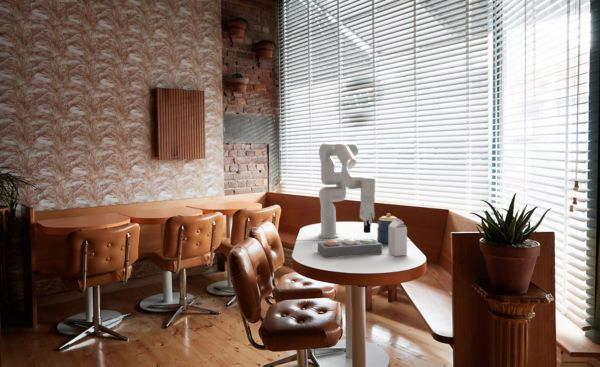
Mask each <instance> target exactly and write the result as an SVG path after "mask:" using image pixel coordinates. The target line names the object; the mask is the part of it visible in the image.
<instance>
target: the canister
mask: <svg viewBox="0 0 600 367" xmlns="http://www.w3.org/2000/svg"><path fill="white" fill-rule="evenodd" d="M394 218H397V217H396V216H394V215H391V213H388V212H387V213H386V215H382V216H381V217H379V218H378V221H377V223H376V224H377V228H376V230H377V236H376V237H377V238H376V241H377V242H379V243H381V244H382V245H387V246H388V230H389V225H390V224H391V223H392V222H393V221H394Z"/></svg>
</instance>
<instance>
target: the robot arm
mask: <svg viewBox="0 0 600 367" xmlns="http://www.w3.org/2000/svg"><path fill="white" fill-rule="evenodd" d="M358 153H359V146H358V145H357V144H356V143H355V141H353V142H352V141H351V142H350V141H348V142H347V141H346V142H345V141H342V142H341V141H339V142H338V141H337V142H333V141H332V142H328V141H327V142H324V143H322V144H320V146H319V149H318V156H319V161H320V176H321V180H320V181H321V183H322V184H323V185H325V186H326V187H322V188H321V189H320V190H319V192H318V198H319V203H320V233H318V237H319V238H320V239H321V238H322V239H336V238H338V237H339V234H338V233H337V216H336V215H337V213H336V212H337V210H336V206H335V205H334V203H333V202H343V201H344V200H345V199H346V196H347V189H348V190H357V189H360V206H359V219H361V220H362V222H363V233H365V234H369V233H371V227H372V224H373V221H374V220H375V200H376V198H375V196H376V195H375V194H376V179H375V177H374V176H370V175H367V174H353V175H351V174H350V172H349V170H351V169H352V168H354V167H355V166H356V165H357V159H356V156H357V155H358ZM333 157H337V159H338V161H339V162H340V163H341V165H342V166H341V169H335V167H336V166H335V161H334V159H333ZM331 185H333V186H331ZM334 185H335V186H334Z"/></svg>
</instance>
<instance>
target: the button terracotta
mask: <svg viewBox="0 0 600 367" xmlns="http://www.w3.org/2000/svg"><path fill="white" fill-rule="evenodd" d="M337 241H338V240H335V239H326V240H325V246H326V247H330V246H337Z"/></svg>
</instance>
